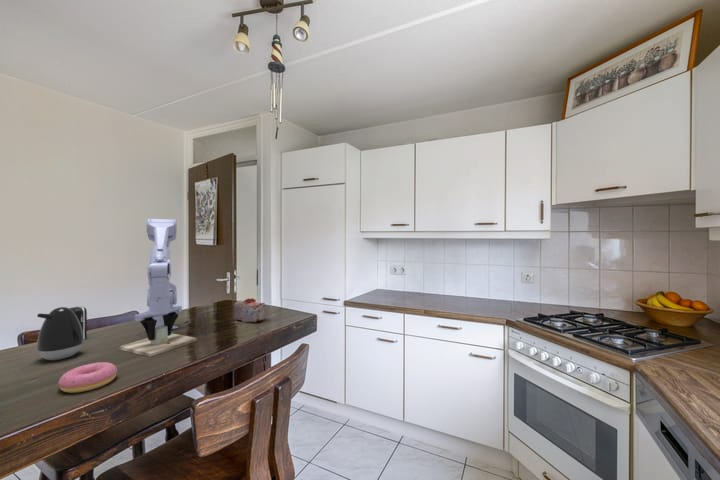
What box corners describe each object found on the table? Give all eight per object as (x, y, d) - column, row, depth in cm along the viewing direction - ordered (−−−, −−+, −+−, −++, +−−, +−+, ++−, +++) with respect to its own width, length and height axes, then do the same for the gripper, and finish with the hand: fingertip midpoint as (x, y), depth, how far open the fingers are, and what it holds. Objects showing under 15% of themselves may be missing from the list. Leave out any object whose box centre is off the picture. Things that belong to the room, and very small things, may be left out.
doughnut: (48, 390, 72) (48, 372, 72) (102, 371, 82) (102, 356, 82) (72, 399, 68) (72, 381, 68) (127, 379, 78) (127, 363, 78)
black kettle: (27, 361, 89) (27, 309, 89) (71, 349, 99) (71, 302, 99) (48, 366, 86) (47, 312, 86) (91, 353, 95) (91, 305, 95)
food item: (267, 320, 135) (267, 297, 135) (255, 324, 128) (255, 301, 128) (244, 317, 140) (244, 295, 140) (230, 321, 133) (230, 299, 133)
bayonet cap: (157, 345, 99) (157, 330, 99) (146, 342, 102) (146, 327, 102) (172, 341, 103) (172, 326, 103) (161, 338, 106) (161, 324, 106)
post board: (119, 349, 99) (119, 337, 99) (167, 335, 113) (167, 324, 113) (150, 356, 92) (150, 343, 92) (197, 340, 107) (197, 329, 107)
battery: (65, 339, 109) (65, 307, 109) (78, 336, 112) (78, 305, 112) (73, 342, 106) (73, 309, 106) (87, 339, 109) (87, 307, 109)
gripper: (144, 302, 94) (144, 345, 94) (187, 294, 108) (187, 332, 108) (130, 300, 97) (130, 342, 97) (174, 293, 111) (174, 330, 111)
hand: (159, 337), depth 103 cm, fingers closed on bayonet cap, 5 cm apart
